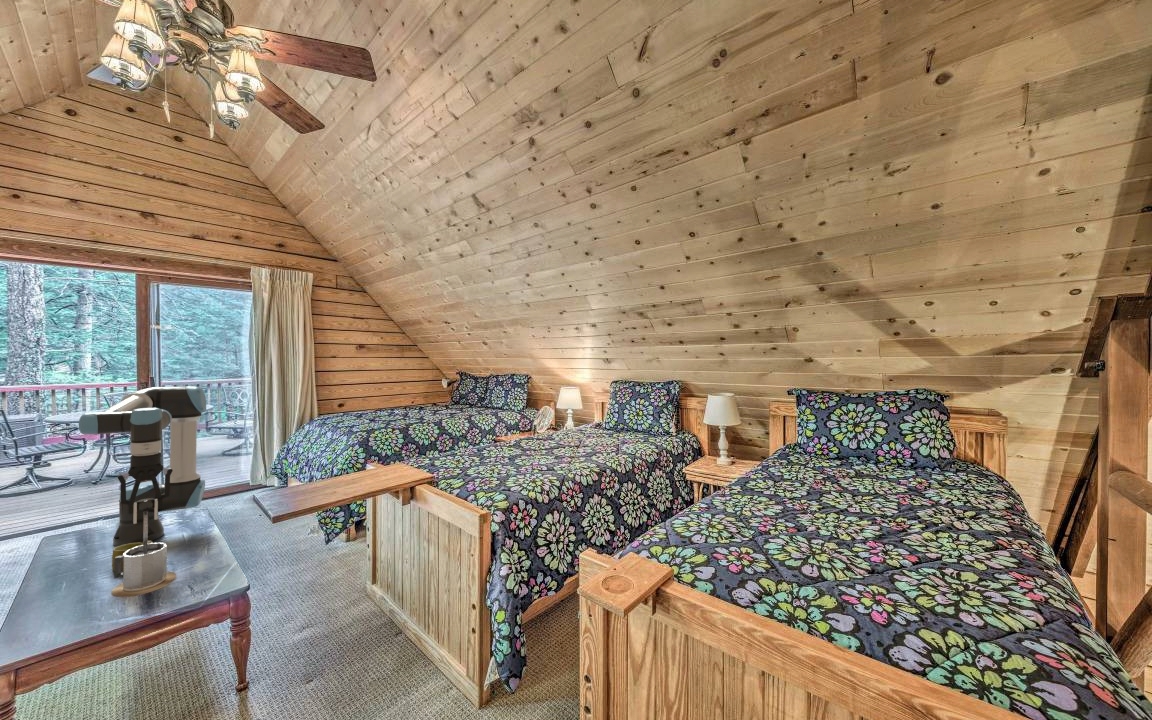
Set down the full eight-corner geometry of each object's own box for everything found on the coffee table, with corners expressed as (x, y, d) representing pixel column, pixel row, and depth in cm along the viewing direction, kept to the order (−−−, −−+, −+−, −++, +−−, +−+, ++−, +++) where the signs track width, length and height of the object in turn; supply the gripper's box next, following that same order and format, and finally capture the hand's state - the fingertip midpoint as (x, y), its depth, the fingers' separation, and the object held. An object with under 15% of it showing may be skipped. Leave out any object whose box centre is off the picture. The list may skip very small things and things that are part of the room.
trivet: (129, 577, 152) (129, 575, 152) (185, 570, 158) (185, 568, 158) (98, 602, 137) (98, 600, 137) (162, 593, 143) (162, 592, 143)
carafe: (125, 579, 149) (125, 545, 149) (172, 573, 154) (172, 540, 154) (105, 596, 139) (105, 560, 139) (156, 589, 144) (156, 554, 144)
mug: (123, 572, 151) (124, 543, 154) (102, 577, 153) (103, 548, 156) (163, 563, 163) (163, 536, 165) (143, 567, 165) (144, 541, 167)
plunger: (137, 553, 149) (138, 497, 149) (164, 550, 152) (164, 495, 151) (125, 563, 142) (125, 505, 142) (152, 560, 145) (153, 503, 144)
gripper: (108, 459, 137) (107, 531, 138) (181, 451, 150) (180, 516, 150) (108, 455, 142) (108, 523, 143) (179, 447, 155) (179, 510, 156)
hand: (145, 520), depth 147 cm, fingers closed on plunger, 4 cm apart
